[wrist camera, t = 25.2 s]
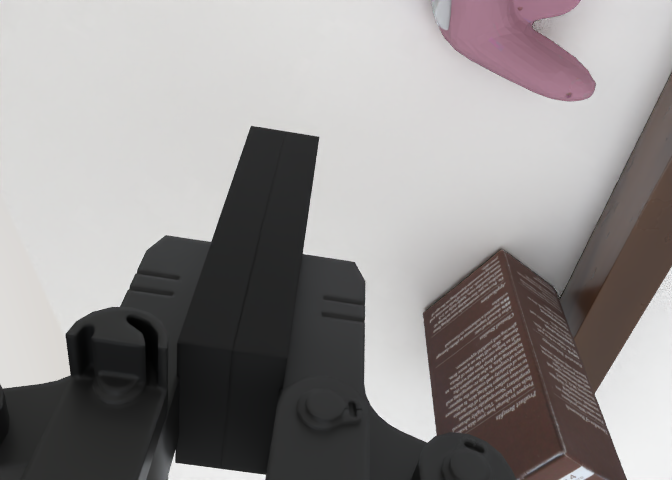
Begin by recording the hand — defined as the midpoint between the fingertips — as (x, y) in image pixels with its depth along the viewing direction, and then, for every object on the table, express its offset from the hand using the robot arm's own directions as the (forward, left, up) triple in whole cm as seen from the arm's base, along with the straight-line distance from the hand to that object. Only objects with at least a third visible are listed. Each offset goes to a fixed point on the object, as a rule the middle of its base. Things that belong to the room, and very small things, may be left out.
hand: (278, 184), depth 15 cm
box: (+11, -13, -14) cm, 22 cm away
